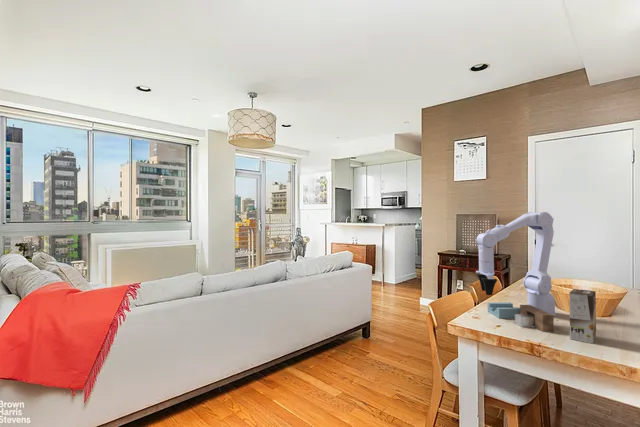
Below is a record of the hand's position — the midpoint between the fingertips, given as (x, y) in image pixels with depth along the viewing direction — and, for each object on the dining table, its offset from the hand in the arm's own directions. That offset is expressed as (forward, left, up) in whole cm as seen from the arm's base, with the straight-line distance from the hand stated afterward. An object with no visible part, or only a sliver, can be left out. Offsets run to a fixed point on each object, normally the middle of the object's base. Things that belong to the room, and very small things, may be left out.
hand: (486, 292), depth 139 cm
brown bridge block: (-13, +12, -10) cm, 20 cm away
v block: (-8, -1, -10) cm, 12 cm away
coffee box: (-21, +25, -10) cm, 34 cm away
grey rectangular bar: (-12, +12, -8) cm, 19 cm away
